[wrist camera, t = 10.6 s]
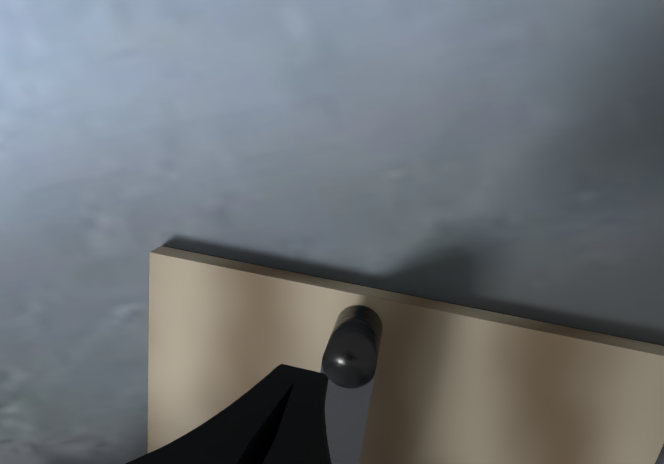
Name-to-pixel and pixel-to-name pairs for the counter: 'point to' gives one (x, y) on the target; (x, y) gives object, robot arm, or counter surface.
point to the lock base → (402, 368)
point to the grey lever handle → (350, 380)
